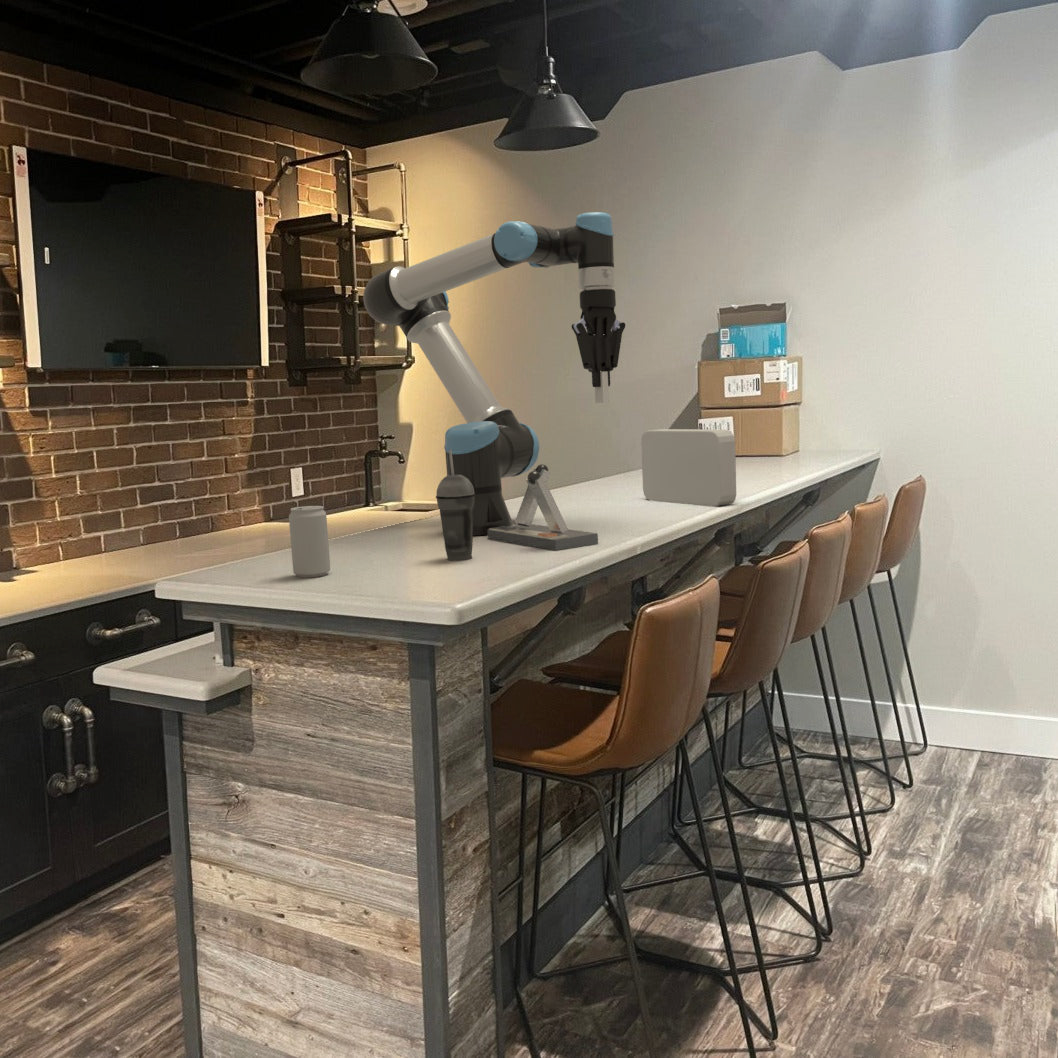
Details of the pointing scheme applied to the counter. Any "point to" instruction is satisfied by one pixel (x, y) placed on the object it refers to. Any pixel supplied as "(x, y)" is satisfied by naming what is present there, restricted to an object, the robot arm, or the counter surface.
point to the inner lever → (530, 501)
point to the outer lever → (546, 502)
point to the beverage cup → (456, 514)
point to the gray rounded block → (689, 466)
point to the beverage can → (309, 541)
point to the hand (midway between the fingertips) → (602, 402)
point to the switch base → (542, 537)
